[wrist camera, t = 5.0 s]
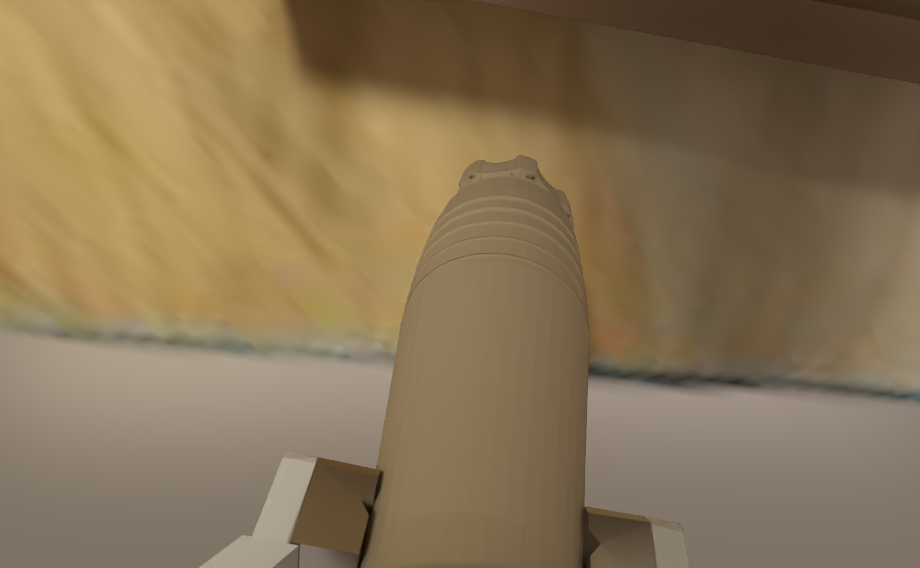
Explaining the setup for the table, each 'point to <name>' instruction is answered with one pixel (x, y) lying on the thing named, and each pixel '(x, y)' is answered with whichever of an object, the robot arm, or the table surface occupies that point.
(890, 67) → the divided box
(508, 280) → the handle
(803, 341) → the table surface
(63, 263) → the table surface
